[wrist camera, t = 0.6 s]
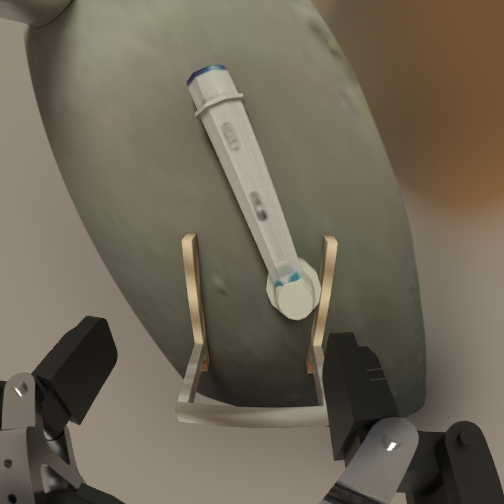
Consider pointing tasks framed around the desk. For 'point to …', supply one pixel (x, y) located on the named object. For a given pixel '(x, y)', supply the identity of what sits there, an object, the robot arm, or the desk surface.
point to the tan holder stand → (200, 360)
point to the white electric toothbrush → (254, 190)
